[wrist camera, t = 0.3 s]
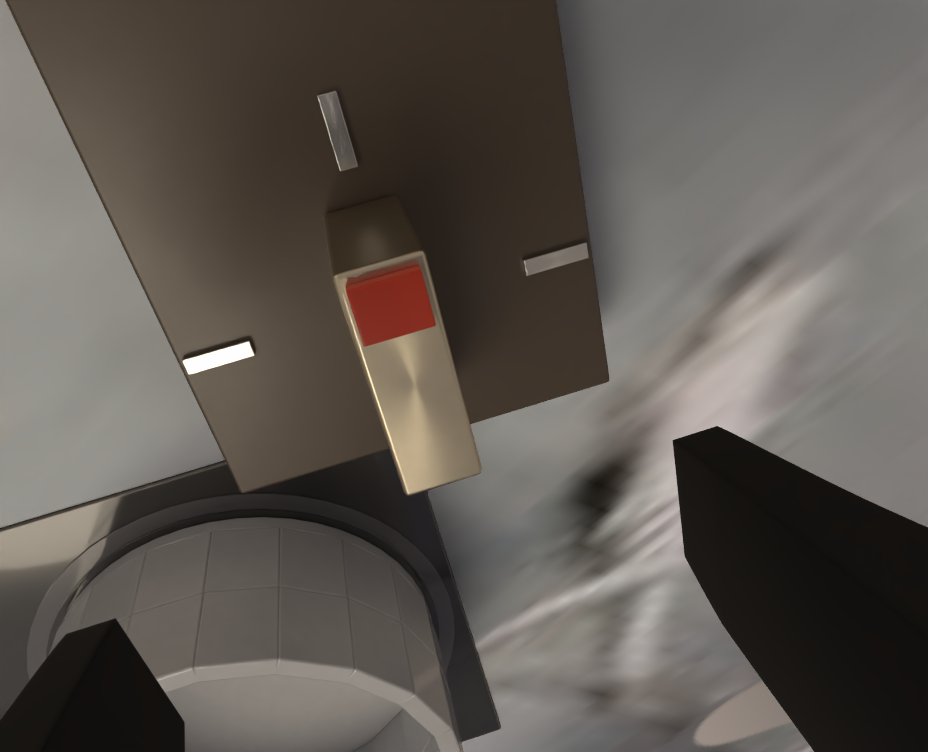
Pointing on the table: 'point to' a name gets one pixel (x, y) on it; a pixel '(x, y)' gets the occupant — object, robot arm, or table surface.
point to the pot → (280, 638)
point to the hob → (218, 498)
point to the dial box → (331, 196)
